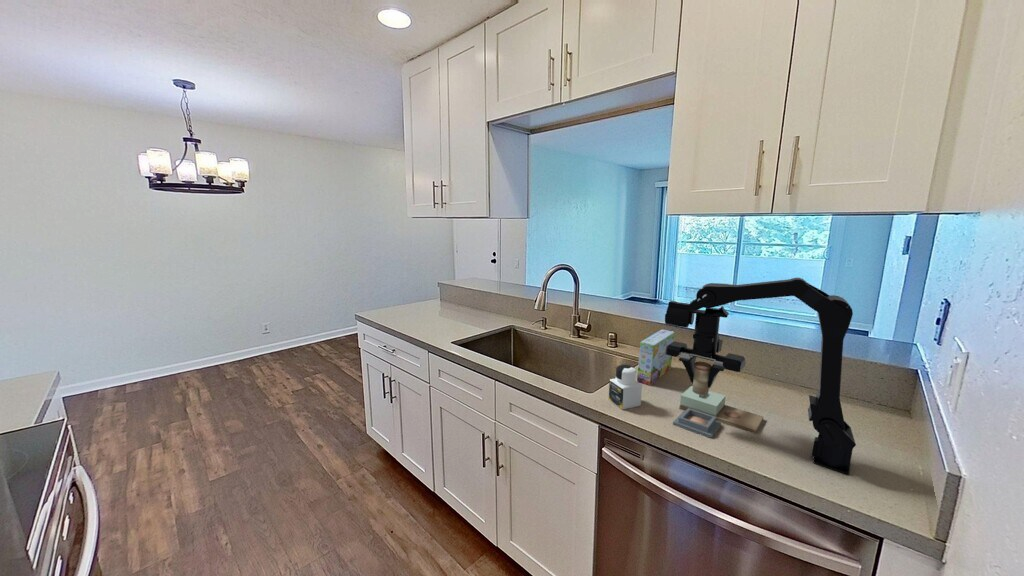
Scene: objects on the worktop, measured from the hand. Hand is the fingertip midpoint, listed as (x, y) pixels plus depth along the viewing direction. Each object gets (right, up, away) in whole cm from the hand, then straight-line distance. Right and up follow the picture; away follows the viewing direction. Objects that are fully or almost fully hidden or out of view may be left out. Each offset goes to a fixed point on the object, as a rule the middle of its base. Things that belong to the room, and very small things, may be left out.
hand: (700, 385), depth 105 cm
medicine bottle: (-17, -10, +15) cm, 24 cm away
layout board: (+10, -11, +8) cm, 17 cm away
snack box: (+1, -6, +36) cm, 37 cm away
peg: (0, -2, 0) cm, 2 cm away
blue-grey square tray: (0, -12, +2) cm, 12 cm away
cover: (+6, -9, +11) cm, 16 cm away
